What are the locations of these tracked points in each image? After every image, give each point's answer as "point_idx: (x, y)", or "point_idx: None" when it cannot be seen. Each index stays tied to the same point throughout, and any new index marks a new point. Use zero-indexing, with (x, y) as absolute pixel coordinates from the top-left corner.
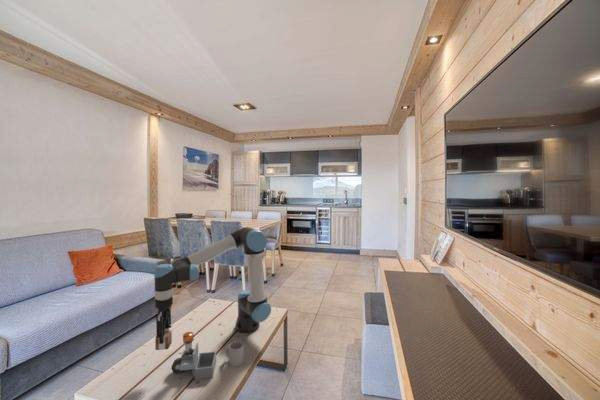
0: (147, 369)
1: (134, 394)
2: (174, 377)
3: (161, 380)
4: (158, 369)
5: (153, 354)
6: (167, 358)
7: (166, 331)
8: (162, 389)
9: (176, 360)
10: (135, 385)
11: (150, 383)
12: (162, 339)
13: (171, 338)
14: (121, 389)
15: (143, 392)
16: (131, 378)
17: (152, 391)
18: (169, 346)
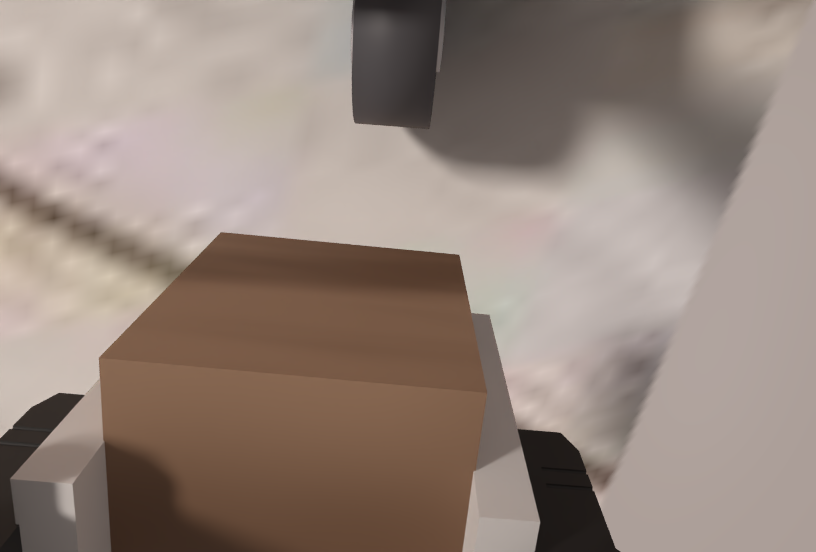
0: None
1: (641, 409)
2: (501, 65)
3: (511, 208)
4: None
5: (8, 408)
6: (102, 234)
7: (127, 508)
8: (670, 161)
9: (406, 67)
10: None
11: (525, 310)
12: (600, 514)
13: (197, 267)
14: None
15: (643, 339)
16: None
17: (662, 258)
18: (365, 246)
